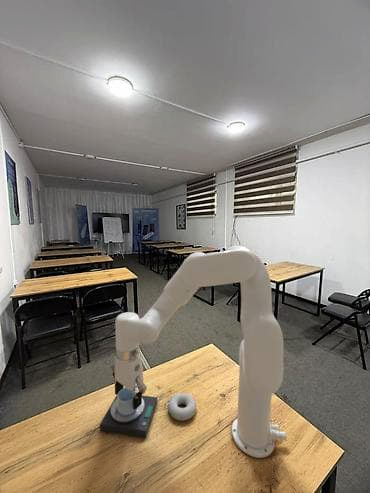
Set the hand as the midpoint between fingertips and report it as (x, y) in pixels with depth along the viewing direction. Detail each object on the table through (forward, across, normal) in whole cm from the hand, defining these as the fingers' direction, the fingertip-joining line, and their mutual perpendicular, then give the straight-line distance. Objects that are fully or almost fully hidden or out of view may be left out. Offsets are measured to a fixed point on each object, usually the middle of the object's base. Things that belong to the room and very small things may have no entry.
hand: (128, 399), depth 71 cm
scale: (+6, -1, 0) cm, 6 cm away
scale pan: (+3, 0, 0) cm, 3 cm away
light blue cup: (+3, 0, 0) cm, 3 cm away
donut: (+6, -13, -13) cm, 20 cm away
